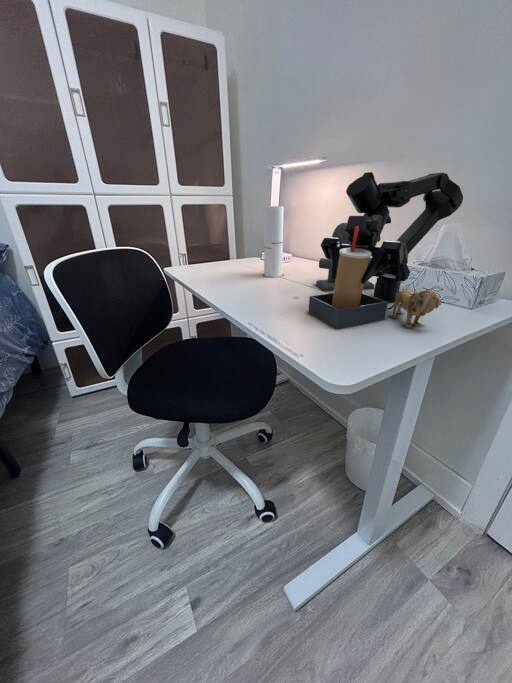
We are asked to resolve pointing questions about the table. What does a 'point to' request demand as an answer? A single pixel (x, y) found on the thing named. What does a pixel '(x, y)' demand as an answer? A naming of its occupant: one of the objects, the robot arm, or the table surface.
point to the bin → (347, 310)
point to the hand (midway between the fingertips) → (347, 280)
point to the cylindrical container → (273, 240)
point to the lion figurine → (415, 304)
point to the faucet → (327, 263)
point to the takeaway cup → (350, 275)
